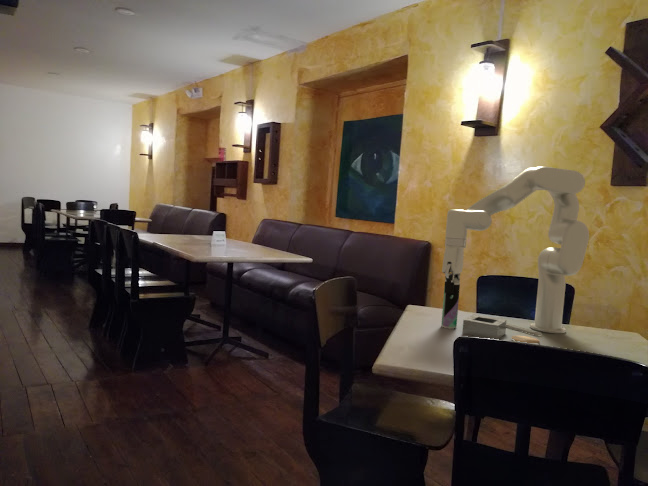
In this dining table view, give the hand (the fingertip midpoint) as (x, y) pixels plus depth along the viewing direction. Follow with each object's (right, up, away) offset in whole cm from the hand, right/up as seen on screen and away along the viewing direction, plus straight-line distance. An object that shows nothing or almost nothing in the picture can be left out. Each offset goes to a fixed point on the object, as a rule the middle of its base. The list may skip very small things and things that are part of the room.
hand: (451, 291), depth 186 cm
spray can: (-1, -14, +1) cm, 14 cm away
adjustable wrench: (+23, -15, +6) cm, 28 cm away
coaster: (+22, -16, -13) cm, 30 cm away
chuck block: (+10, -15, -6) cm, 19 cm away
